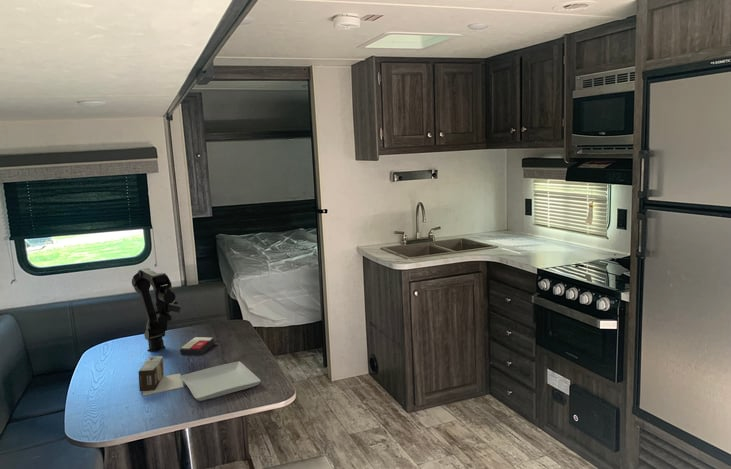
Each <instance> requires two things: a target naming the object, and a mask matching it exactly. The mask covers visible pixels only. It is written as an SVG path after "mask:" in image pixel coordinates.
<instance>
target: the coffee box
mask: <svg viewBox="0 0 731 469" xmlns="http://www.w3.org/2000/svg"><path fill="white" fill-rule="evenodd" d="M137 373H138V388H139V389H138V390H139V392H143V391H150V390H155V389H156V387H157V386H158V384H159V382H160V381H161V379H162V377H164V376H165V369H164V356H161V355H160V356H149V357H148V358H147V359H146V361H145V362H144V363H143V364H142V365H141V368H139V370H138V372H137Z"/></svg>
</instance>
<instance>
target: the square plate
mask: <svg viewBox="0 0 731 469" xmlns="http://www.w3.org/2000/svg"><path fill="white" fill-rule="evenodd" d="M179 377H180V379H181V380H182V382H183V384H185V385H186V386H187V388H188V390H190V392H191V395H192V397H194V399H195V400H197V401H200V402H201V401H206V400H210V399H215V398H219V397H221V396H225V395H229V394H233V393H236V392H240V391H244V390H247V389H250V388H254V387H256V386H258V385H260V383H261V382H262V380H261V379H260V378H259V377H258V376H257V375H256V374H254V373H253V371H251V370H250V369H249V368H248V367H247V366H246V365H245V364H244V363H242V362H241V361H234V362H229V363H224V364H220V365H216V366H212V367H208V368H204V369H199V370H196V371H192V372H190V373H185V374H182V375H181V376H179Z"/></svg>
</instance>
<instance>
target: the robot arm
mask: <svg viewBox="0 0 731 469" xmlns="http://www.w3.org/2000/svg"><path fill="white" fill-rule="evenodd" d="M131 286H132V287H133V289H134V290H135V292H136V293H138V294H139V297H140V300H141V303H142V308H143V310H144V313H145V317H146V320H147V322H146V326H145V331H144V335H143V336H144V339H145V340H146V341H147V342H148V349H147V352H160V351H162V350H163V349H165V348H166V346H165V343H164V342H165V341H164V339H163V338H164V337H166V332H167V328H168V322H169V321H172V315H171V312H173V313H178V314H179V313H180V312H181V308H182V305H181V304H179V302H178V300H175V299H176V294H175V292H173V291H171V288H172V282H171V280H170V278H169V276H168V275H167V274H166V273H165V272H164V273H163V272H161V273H160V272H159V273H157V272H155V271H153V270H151V269H150V267H149V268H147V267H145V268H141V269H139V270H138V271H137V273H136V274H134V275H133V277H132V279H131ZM151 287H152V290H153V292H154V300H155V306H154V303H153V300H152V296H151V292H150V289H151Z"/></svg>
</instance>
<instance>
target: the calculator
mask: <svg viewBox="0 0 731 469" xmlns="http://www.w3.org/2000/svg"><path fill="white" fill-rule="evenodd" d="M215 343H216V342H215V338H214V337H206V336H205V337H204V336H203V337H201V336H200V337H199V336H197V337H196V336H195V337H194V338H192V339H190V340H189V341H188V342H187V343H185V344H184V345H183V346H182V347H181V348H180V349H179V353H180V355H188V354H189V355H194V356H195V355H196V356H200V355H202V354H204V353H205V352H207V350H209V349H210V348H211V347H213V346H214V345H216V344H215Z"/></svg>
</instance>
